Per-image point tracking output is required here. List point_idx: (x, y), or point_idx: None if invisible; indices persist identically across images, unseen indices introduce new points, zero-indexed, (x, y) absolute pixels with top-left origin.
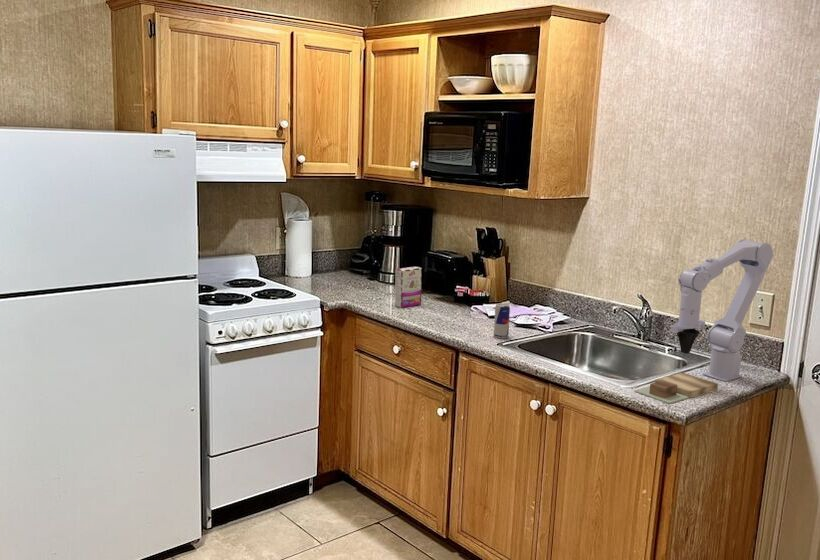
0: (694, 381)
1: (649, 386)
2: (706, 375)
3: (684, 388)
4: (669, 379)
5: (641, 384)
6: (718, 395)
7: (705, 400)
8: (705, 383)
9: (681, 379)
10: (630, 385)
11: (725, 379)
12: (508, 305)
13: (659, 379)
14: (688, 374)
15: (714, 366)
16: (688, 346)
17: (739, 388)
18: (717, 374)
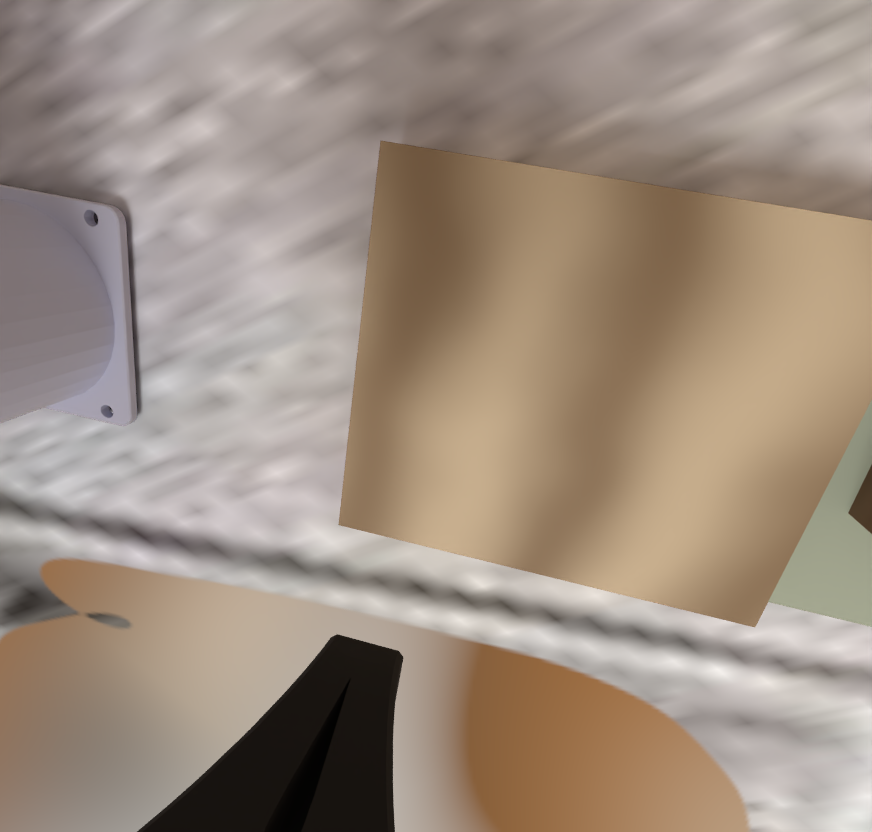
0: (513, 354)
1: (813, 609)
2: (135, 389)
3: (865, 330)
4: (639, 542)
5: (754, 665)
6: (563, 51)
7: (860, 66)
8: (491, 242)
9: (549, 466)
10: (846, 713)
11: (89, 223)
12: None
13: (709, 603)
14: (348, 474)
15: (35, 354)
16: (383, 772)
17: (169, 10)
18: (89, 303)
